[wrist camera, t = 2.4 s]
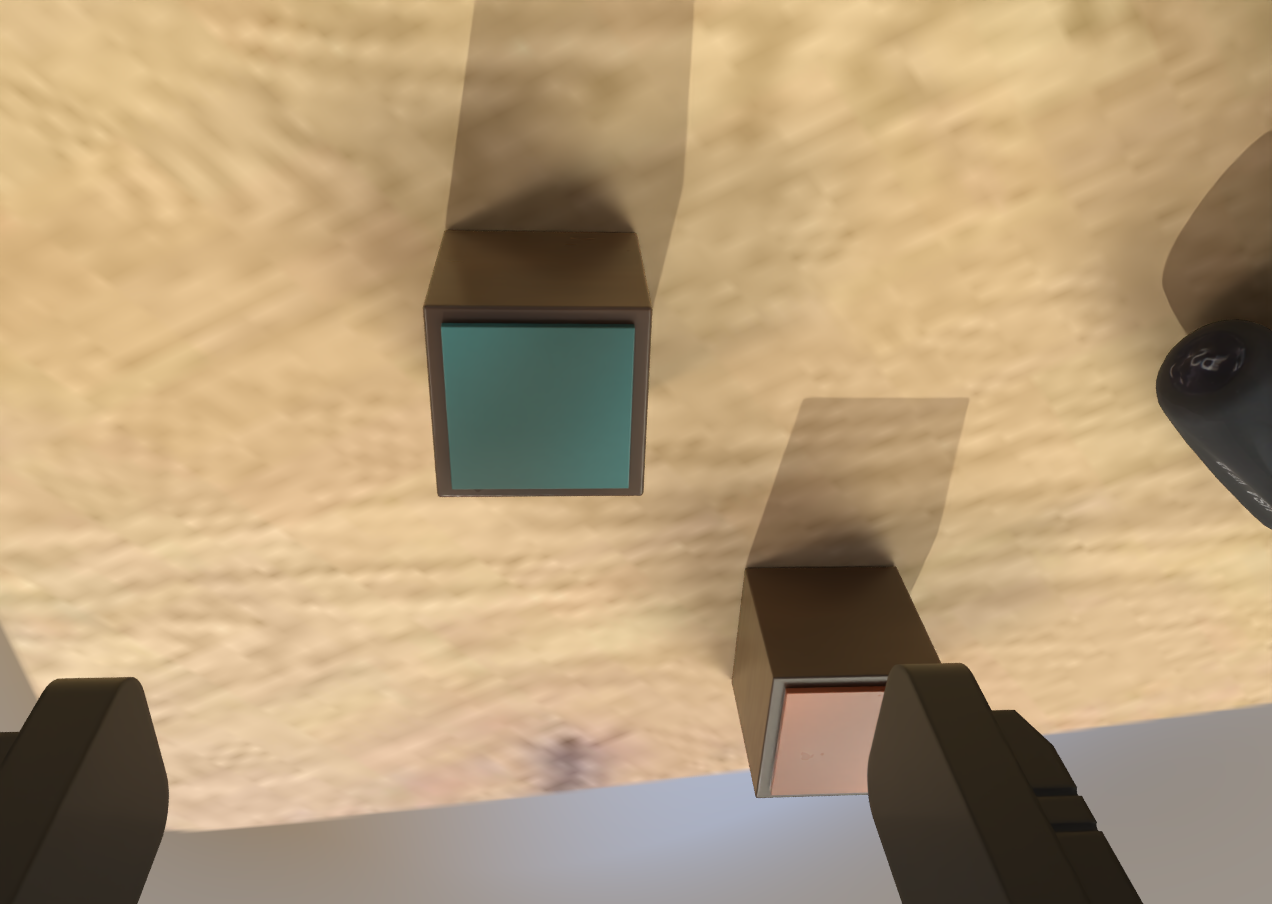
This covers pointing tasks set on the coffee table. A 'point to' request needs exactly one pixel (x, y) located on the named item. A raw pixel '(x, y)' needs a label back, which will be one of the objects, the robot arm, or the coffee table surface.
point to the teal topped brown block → (538, 363)
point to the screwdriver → (1225, 406)
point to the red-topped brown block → (819, 672)
